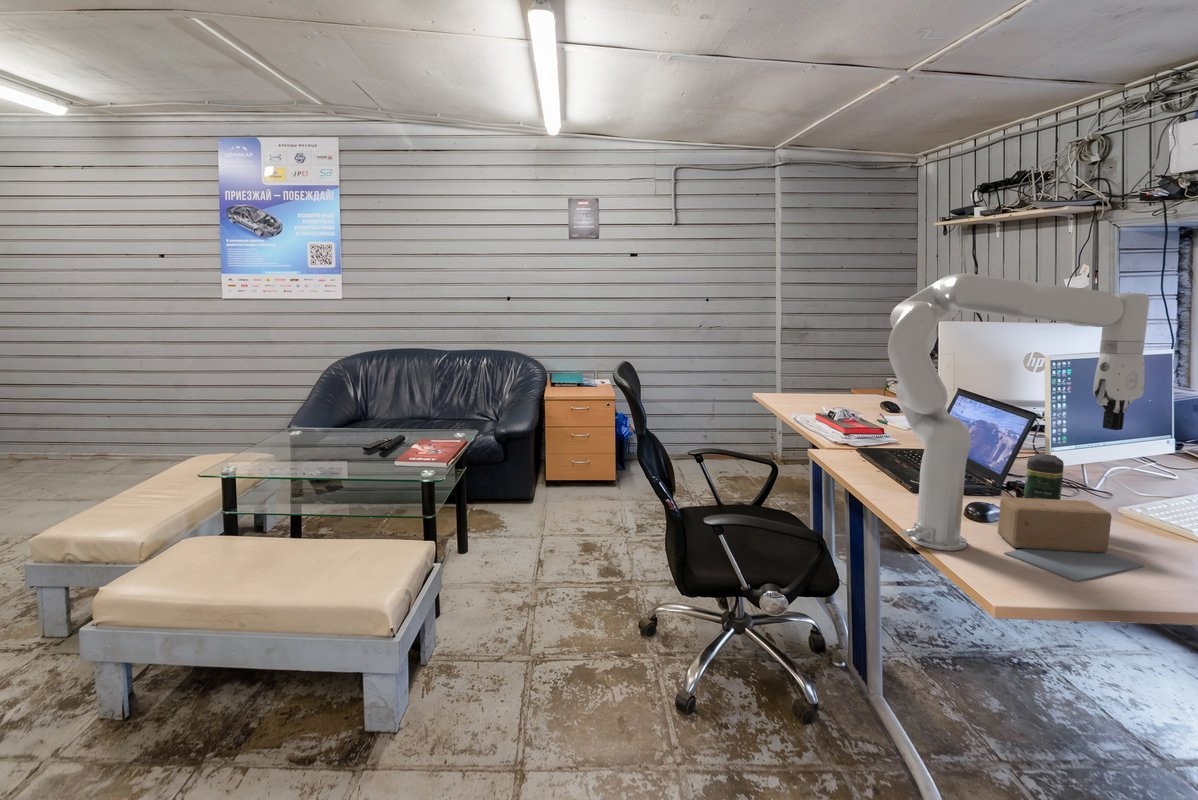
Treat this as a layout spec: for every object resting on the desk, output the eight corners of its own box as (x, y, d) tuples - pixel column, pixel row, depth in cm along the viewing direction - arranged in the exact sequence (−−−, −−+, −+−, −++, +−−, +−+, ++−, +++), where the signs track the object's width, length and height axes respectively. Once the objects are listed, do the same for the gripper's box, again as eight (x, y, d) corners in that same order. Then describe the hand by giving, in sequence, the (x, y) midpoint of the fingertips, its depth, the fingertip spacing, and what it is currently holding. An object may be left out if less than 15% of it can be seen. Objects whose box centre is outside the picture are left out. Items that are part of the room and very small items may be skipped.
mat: (1076, 582, 131) (1076, 580, 131) (1004, 554, 146) (1004, 552, 146) (1143, 566, 138) (1144, 564, 138) (1068, 541, 153) (1069, 539, 153)
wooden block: (1114, 513, 142) (1017, 508, 146) (1109, 554, 144) (1013, 548, 148) (1089, 499, 152) (999, 495, 156) (1084, 538, 153) (995, 533, 157)
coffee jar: (1056, 531, 159) (1064, 461, 157) (1019, 525, 164) (1026, 457, 162) (1058, 521, 167) (1065, 454, 164) (1023, 515, 172) (1029, 450, 169)
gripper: (1117, 350, 133) (1107, 434, 136) (1163, 348, 138) (1153, 429, 141) (1080, 348, 140) (1072, 428, 143) (1125, 346, 145) (1116, 423, 148)
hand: (1112, 428), depth 142 cm, fingers closed
